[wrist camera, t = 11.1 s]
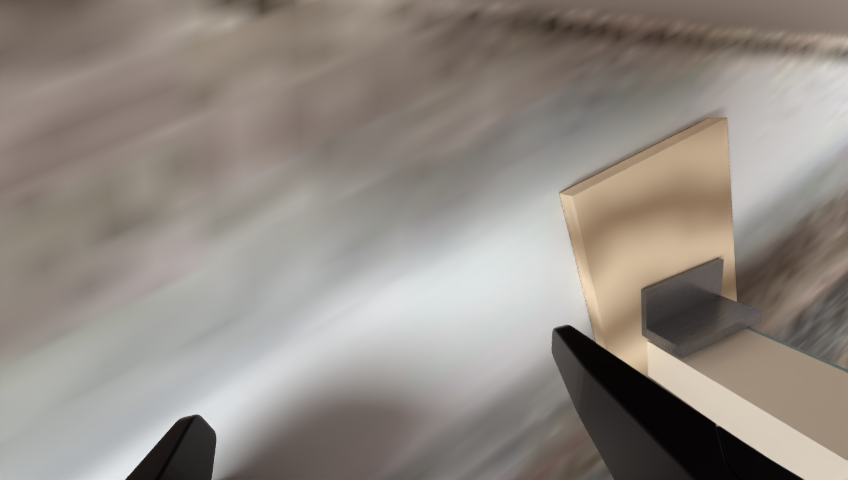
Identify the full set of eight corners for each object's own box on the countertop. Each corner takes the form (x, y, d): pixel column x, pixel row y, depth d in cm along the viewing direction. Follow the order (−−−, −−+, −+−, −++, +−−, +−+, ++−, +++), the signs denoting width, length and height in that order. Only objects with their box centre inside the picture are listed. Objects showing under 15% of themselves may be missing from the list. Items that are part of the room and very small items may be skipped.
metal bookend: (641, 335, 26) (681, 358, 23) (641, 289, 25) (683, 308, 22) (715, 302, 28) (760, 321, 25) (718, 257, 26) (766, 271, 24)
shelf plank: (726, 370, 32) (741, 378, 31) (619, 440, 30) (631, 452, 29) (707, 118, 24) (727, 117, 23) (559, 193, 22) (572, 196, 21)
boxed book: (648, 375, 27) (877, 536, 16) (647, 341, 26) (892, 487, 15) (710, 345, 29) (960, 475, 18) (712, 311, 28) (979, 426, 17)
